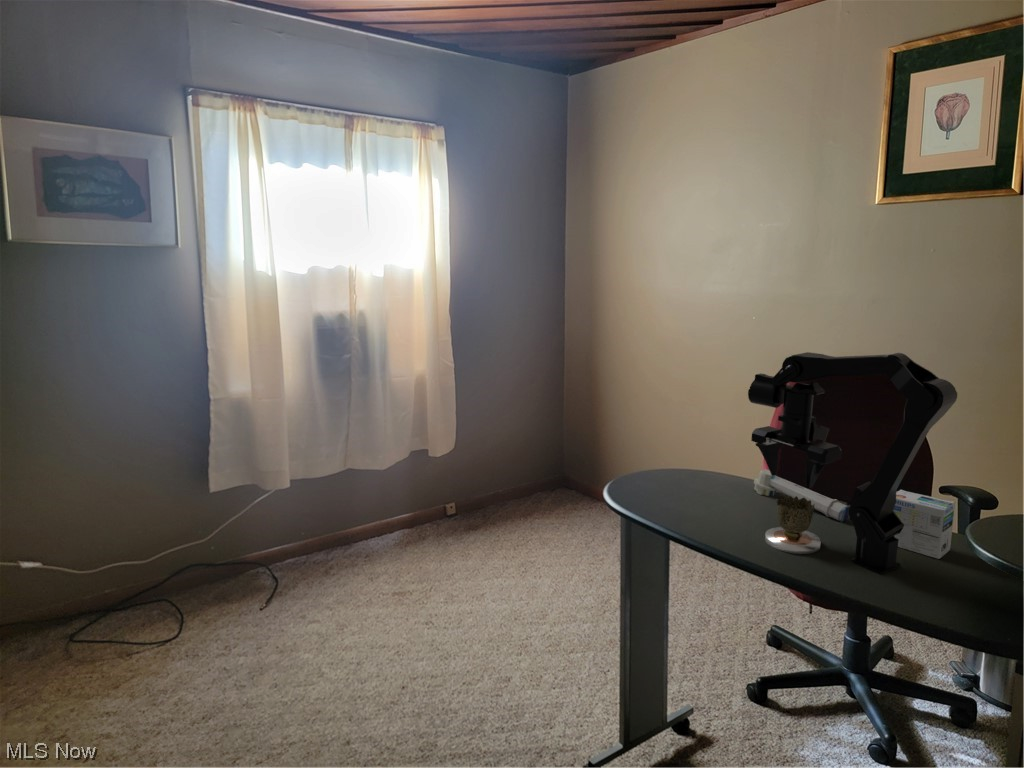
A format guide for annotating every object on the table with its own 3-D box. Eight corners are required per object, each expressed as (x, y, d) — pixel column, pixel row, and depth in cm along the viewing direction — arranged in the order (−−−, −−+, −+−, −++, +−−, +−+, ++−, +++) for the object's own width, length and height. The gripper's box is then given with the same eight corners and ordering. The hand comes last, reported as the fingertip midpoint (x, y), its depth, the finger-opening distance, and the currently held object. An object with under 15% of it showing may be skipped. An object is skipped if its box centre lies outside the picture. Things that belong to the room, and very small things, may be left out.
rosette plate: (831, 546, 140) (832, 541, 140) (795, 558, 135) (796, 552, 135) (789, 528, 150) (789, 522, 150) (753, 538, 145) (754, 532, 145)
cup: (769, 529, 146) (771, 495, 145) (803, 529, 146) (806, 495, 144) (781, 544, 139) (784, 508, 137) (817, 544, 139) (820, 508, 137)
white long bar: (840, 508, 151) (752, 465, 171) (834, 534, 153) (748, 488, 173) (854, 504, 154) (765, 462, 174) (848, 529, 156) (761, 485, 176)
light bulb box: (951, 550, 138) (957, 501, 136) (940, 560, 134) (946, 510, 132) (895, 534, 146) (900, 488, 144) (883, 543, 142) (888, 495, 140)
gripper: (862, 416, 137) (854, 488, 140) (785, 398, 153) (780, 463, 156) (827, 423, 132) (820, 498, 135) (752, 404, 148) (747, 471, 151)
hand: (791, 481), depth 144 cm, fingers open, 9 cm apart
